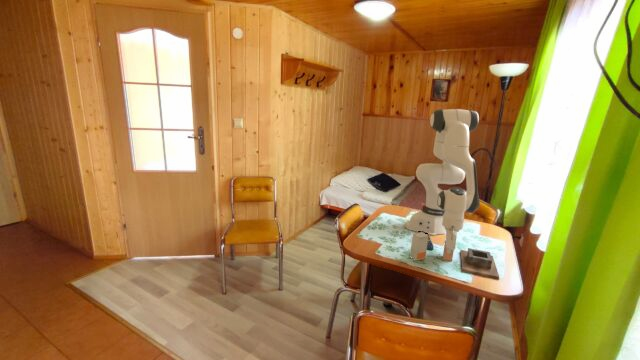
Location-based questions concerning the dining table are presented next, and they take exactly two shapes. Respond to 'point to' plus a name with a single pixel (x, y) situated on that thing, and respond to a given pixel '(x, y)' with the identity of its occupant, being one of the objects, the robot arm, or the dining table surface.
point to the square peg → (447, 254)
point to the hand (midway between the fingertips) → (448, 250)
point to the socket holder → (478, 263)
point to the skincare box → (419, 246)
